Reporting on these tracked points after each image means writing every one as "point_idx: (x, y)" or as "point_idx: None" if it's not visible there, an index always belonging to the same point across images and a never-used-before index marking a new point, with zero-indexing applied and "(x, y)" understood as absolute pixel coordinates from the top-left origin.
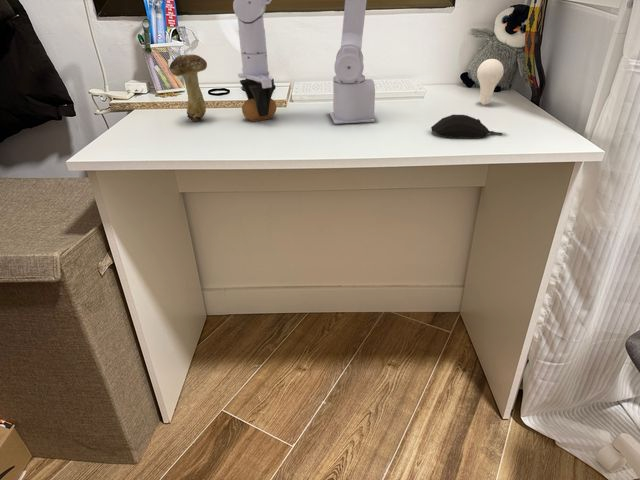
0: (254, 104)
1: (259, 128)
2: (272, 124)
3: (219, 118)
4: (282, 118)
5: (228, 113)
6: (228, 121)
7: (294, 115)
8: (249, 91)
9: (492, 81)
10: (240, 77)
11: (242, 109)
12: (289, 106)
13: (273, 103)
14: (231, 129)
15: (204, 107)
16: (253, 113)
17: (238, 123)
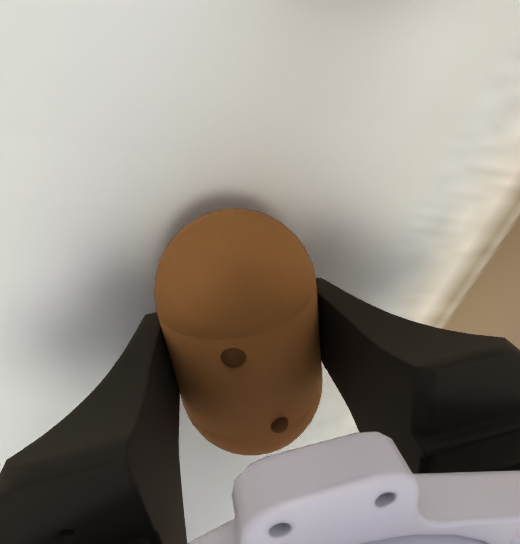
0: (182, 337)
1: (11, 272)
2: (85, 352)
3: (364, 9)
4: None
5: (445, 108)
6: (254, 73)
7: (218, 457)
8: (366, 361)
9: None
10: (253, 473)
11: (223, 220)
12: None
13: (212, 443)
14: (25, 59)
15: None
16: (154, 286)
17: (175, 144)
